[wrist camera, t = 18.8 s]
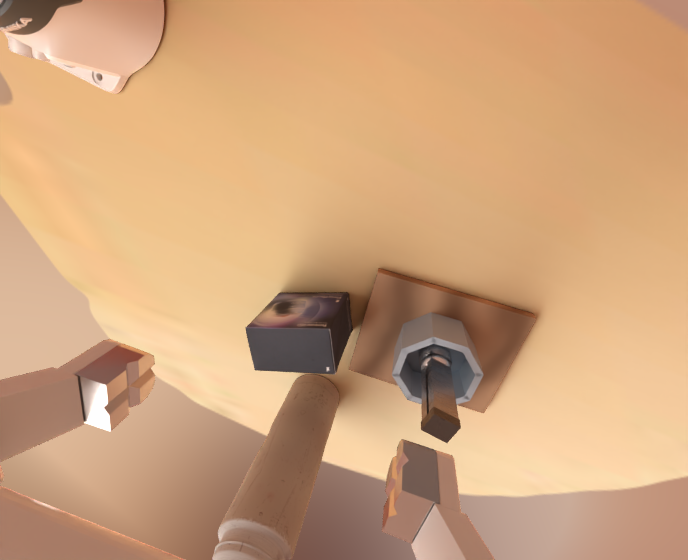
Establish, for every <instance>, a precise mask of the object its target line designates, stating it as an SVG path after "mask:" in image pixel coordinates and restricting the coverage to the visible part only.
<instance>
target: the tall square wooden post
mask: <svg viewBox="0 0 688 560" xmlns="http://www.w3.org/2000/svg"><path fill="white" fill-rule="evenodd" d="M419 365H420V367H421V395H422V421H421V430H422V431H424V432H426V433H428V434H430V435H432V436H434V437H436V438H438V439H440V440H442V441H444V442H446V443H448V441H449V440H450V439H451V438H452V437H453V436H454V435H455V434H456V432H457V431H458V430H459V429H460V428H461V426H460V420H459V418H458V412H457V405H456V399H455V392H454V385H453V379H452V372H451V366H452V359H451V352H450V348H447V347H444V346H440V345H437V344H431V345H429V346H426V347H423V348H421V349H419Z"/></svg>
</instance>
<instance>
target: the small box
mask: <svg viewBox="0 0 688 560" xmlns="http://www.w3.org/2000/svg"><path fill="white" fill-rule="evenodd" d="M351 322H352V321H351V313H350V300H349V295H348V293H279V294H278V295H277V296H276V297H275V298H274V299H273V300H272V301H271V302H270V303H269V304H268V305H267V306H266V307H265V309H264V310H263V311H262V312H261V313H260V314H259V315H258V316H257V317H256V318H255V319H254V320H253V321H252V322H251V323H250V324H249V325H248V326H247V327H246V334H247V338H248V343H249V347H250V351H251V355H252V360H253V364H254V368H255V370H260V371H280V372H300V373H319V374H335V373H336V372H337V368H338V365H339V362H340V360H341V357H342V354H343V352H344V349H345V347H346V344H347V341H348V339H349V336H350V333H351V332H352V330H353V329H352V328H353V327H352V324H351Z"/></svg>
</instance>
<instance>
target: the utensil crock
mask: <svg viewBox="0 0 688 560" xmlns="http://www.w3.org/2000/svg"><path fill="white" fill-rule="evenodd" d="M431 344H437V345H440V346H444V347H447V348H450V352H451V359H452V366H451V372H452V379H453V385H454V392H455V399H456V405H457V404H460V403H464V402H467V401H470V400H471V398H472V396H473V394H474V392H475V390H476V388H477V387H478V385H479V383H480V381H481V379H482V377H483V375H484V374H483V371H482V368H481V364H480V361H479V358H478V354H477V351H476V348H475V345H474V343H473V341H472V339H471V338H470V336H469V334H468V332H467V330H466V328H465V327H464V325H463V323H462V321H459V320H456V319H452V318H449V317H446V316H442V315H439V314H436V313H432V312H430V313H428V314H426V315H423V316H421V317H418V318H416V319H414V320H411V321H409V322H406V323H404V324H403V326H402V329H401V332H400V334H399V337H398V340H397V343H396V346H395V349H394V359H393V369H392V376H393V378H394V379H395V381H396V383H397V384H398V386H399V387H400V389H401V390H402V392H403V394H404V395H405V397H406V398H407V400H410V401H413V402H416V403H419V404H422V395H421V367H420V365H419V349H421V348H423V347H426V346H429V345H431Z"/></svg>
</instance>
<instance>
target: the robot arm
mask: <svg viewBox="0 0 688 560" xmlns="http://www.w3.org/2000/svg"><path fill="white" fill-rule="evenodd" d="M163 25H164V0H0V31H2V32H4V33H5V35H6V37H7V39H8V48H9V49H10V51H12V52H15V53H17V54H20V55H23V56H26V57H30V58H35V59H36V58H37V59H39V60H42V61H46V62H49V63H51V64H53V65H55V66H57V67H59V68H61V69H63V70H65V71H67V72H69V73H71V74H73V75H75V76H77V77H79V78H81V79H83V80H85V81H87V82H89V83H91V84H93V85H95V86H97V87H99V88H101V89H103V90H105V91H107V92H111V93H114V94H117V93H119V92H120V91H121V90H122V88H123V87H124V85H125V83H126V81H127V80H128V78H129V76H130V75H131V74H133V73H134V72H136V71H137V70H139V69H141V68H142V67H143V66H145V65H146V64H147V63H148V62H149V61H150V59H151V58H152V57H153V55H154V54H155V52H156V50H157V48H158V45H159V43H160V40H161V36H162V32H163ZM101 76H102V77H103V79H102V78H101ZM154 364H155V361H154V356H153V355H151V354H149V353H147V352H144V351H141V350H139V349H136V348H133V347H131V346H128V345H125V344H122V343H119V342H116V341H114V340H111V339H108V340H103V341H102V342H100V343H98V344H97V345H95V346H93V347H92V348H90V349H89V350H87V351H85V352H84V353H82V354H81V355H79V356H77V357H76V358H74V359H72V360H71V361H69V362H68V363H66V364H64V365H63V366H61V367H59V368H58V369H56V368H48V369H44V370H40V371H36V372H31V373H27V374H23V375H19V376H15V377H10V378H6V379H2V380H0V462H2V461H4V460H6V459H8V458H11V457H13V456H15V455H17V454H19V453H22V452H24V451H26V450H28V449H31V448H33V447H35V446H37V445H40V444H42V443H44V442H46V441H48V440H50V439H53V438H55V437H57V436H59V435H62V434H64V433H66V432H68V431H71V430H73V429H75V428H77V427H79V426H81V425H84V423H87V424H90V425H93V426H96V427H99V428H102V429H105V430H108V431H112V430H113V429H114V428H115V427H116V426H117V425H118V424H119V423H120V422H121V421H122V420H124V419H125V418H126V417H127V416H128V415H129V410H130V407H133V406H136V405H139V404H141V403H142V402H143V401H144V400H145V399H146V398H147V397H148V395H149V394H150V392H151V390H152V389H153V386H154V382H155V374H154V373H153V371H152V370H151V367H152V366H153V365H154ZM3 478H4V475H3V472H2V468H1V465H0V483H1V482H2V481H3ZM385 492H386V494H387V496H388V499H387V501H386V503H385V506H384V512H383V524H382V532H384V533H387V534H389V535H392V536H394V537H396V538H399V539H402V540H404V541H407V542H409V543H411V544H412V548H413V551H414V554H415V556H416V559H417V560H495V559H494V557H493V556H492V554H491V553H490V551H489V549H488V548H487V546H486V545H485V543H484V541H483V540H482V538H481V537H480V535H479V534H478V532H477V530H476V529H475V527H474V526H473V524H472V523H471V521H470V519H469V518H468V516H467V515H466V514H464V513H461V509H460V501H459V493H458V485H457V478H456V470H455V462H454V458H453V456H452V455H449V454H446V453H443V452H440V451H437V450H434V449H431V448H428V447H425V446H422V445H419V444H416V443H412V442H409V441H406V440H403V439H402V440H401V441H400V443H399V445H398V447H397V456H395V457H393V459H392V461H391V464H390V467H389V471H388V474H387V480H386V489H385ZM0 560H185V559H182V558H180V557H177V556H175V555H172V554H170V553H167V552H165V551H162V550H160V549H157V548H155V547H152V546H150V545H147V544H145V543H142V542H140V541H137V540H135V539H132V538H130V537H127V536H125V535H122V534H119V533H117V532H115V531H112V530H110V529H107V528H105V527H102V526H100V525H97V524H95V523H92V522H90V521H87V520H85V519H82V518H80V517H77V516H75V515H72V514H70V513H67V512H65V511H62V510H60V509H57V508H55V507H52V506H50V505H47V504H45V503H42V502H40V501H37V500H35V499H32V498H30V497H27V496H25V495H22V494H20V493H17V492H15V491H12V490H10V489H7V488H5V487H2V486H0Z"/></svg>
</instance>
